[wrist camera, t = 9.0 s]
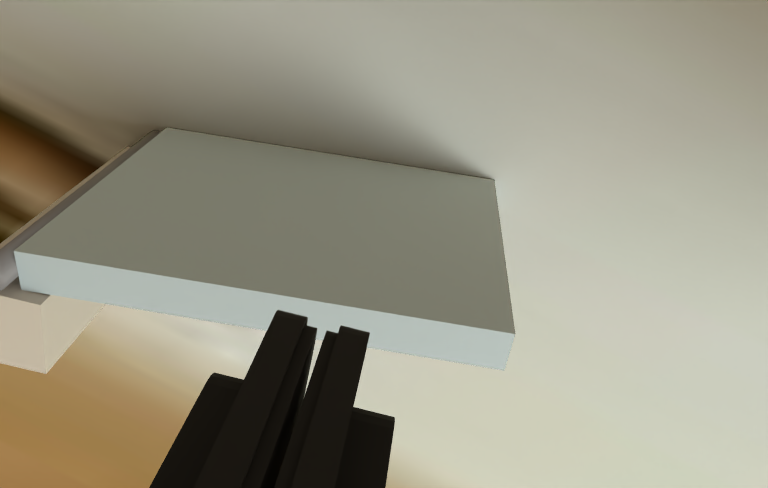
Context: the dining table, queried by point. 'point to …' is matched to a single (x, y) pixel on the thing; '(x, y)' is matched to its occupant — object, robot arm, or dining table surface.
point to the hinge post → (41, 315)
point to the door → (281, 244)
